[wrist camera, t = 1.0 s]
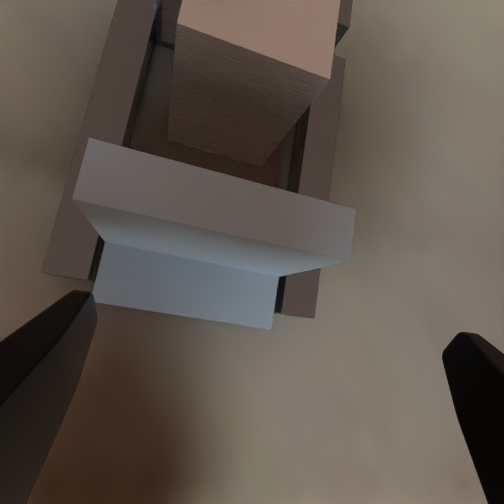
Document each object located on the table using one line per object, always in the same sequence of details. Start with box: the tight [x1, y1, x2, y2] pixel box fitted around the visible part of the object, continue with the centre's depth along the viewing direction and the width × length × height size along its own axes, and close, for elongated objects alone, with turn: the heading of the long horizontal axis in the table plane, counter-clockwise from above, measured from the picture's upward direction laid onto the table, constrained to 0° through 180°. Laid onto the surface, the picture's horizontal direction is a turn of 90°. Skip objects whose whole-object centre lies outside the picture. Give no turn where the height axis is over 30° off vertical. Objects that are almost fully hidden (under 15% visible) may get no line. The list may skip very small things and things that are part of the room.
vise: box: [41, 0, 353, 319], centre depth 18 cm, size 17×14×6 cm
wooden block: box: [167, 0, 340, 167], centre depth 17 cm, size 5×6×9 cm
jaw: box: [72, 138, 356, 330], centre depth 15 cm, size 6×9×9 cm, turn 80°
